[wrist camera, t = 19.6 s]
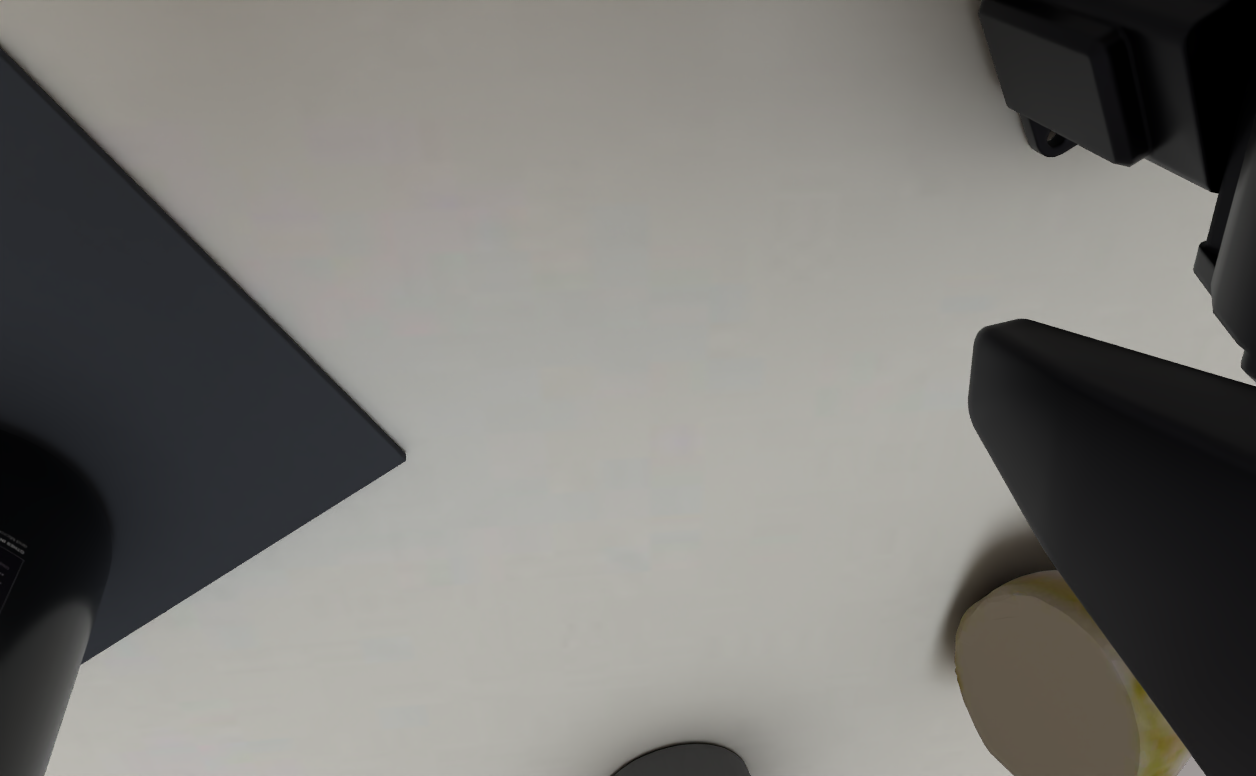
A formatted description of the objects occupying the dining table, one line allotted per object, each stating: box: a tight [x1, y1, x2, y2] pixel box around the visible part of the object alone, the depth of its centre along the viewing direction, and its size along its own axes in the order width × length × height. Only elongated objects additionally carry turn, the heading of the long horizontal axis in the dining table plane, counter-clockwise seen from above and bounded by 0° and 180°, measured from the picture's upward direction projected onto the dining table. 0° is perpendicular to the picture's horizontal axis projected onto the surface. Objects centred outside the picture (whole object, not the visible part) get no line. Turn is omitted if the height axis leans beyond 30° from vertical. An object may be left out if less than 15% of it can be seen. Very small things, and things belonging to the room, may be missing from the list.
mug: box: [955, 570, 1192, 776], centre depth 30 cm, size 8×10×10 cm
